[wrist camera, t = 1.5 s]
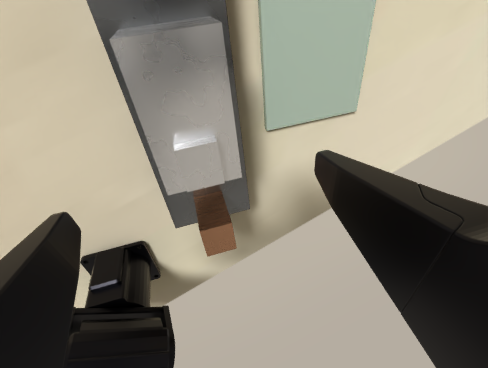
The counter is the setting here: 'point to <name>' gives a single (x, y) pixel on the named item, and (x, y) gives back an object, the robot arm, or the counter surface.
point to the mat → (312, 58)
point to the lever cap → (182, 99)
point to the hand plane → (180, 204)
